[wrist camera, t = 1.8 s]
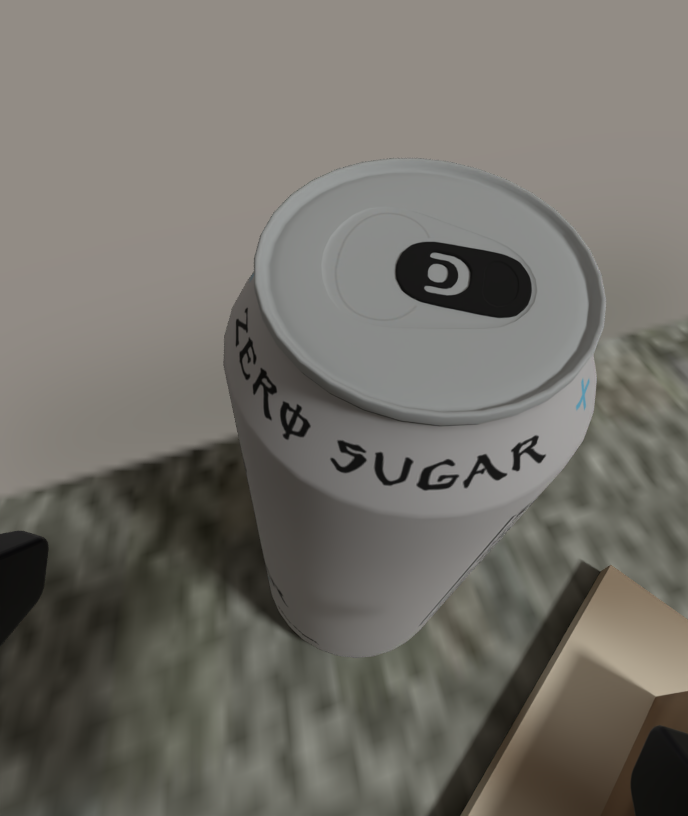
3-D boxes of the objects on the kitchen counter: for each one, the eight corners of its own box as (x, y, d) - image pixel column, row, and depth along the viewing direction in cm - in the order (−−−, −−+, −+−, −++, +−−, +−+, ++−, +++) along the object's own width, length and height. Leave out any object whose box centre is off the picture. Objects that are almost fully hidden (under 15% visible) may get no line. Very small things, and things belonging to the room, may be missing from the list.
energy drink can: (293, 479, 22) (276, 107, 10) (444, 512, 22) (637, 172, 9) (248, 639, 19) (132, 400, 6) (424, 681, 19) (674, 517, 6)
